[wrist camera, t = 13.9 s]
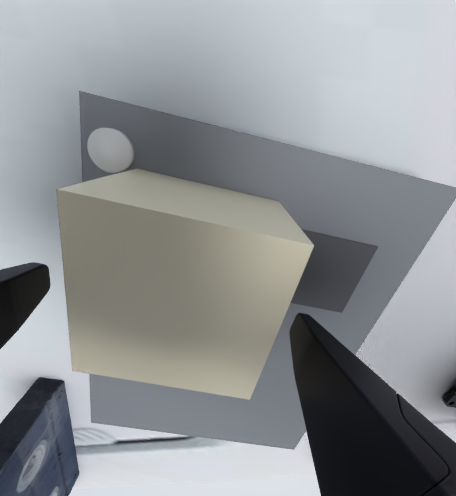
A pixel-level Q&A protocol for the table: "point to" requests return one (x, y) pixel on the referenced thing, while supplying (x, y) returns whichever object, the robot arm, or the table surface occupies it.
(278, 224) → the beige block
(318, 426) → the robot arm
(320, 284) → the panel
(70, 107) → the table surface
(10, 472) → the vhs cassette tape
